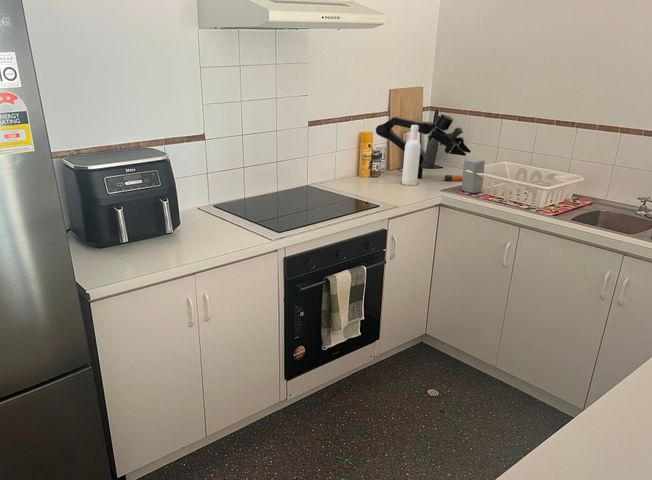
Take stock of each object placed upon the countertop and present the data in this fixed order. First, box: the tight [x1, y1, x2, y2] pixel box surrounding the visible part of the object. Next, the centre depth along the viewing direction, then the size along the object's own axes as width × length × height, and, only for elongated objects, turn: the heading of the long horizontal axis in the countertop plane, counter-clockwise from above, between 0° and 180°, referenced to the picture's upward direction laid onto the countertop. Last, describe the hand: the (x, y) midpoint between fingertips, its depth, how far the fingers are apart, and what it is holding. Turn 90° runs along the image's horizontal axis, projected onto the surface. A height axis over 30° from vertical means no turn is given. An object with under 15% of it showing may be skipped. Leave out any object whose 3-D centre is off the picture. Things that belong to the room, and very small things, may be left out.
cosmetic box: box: [461, 157, 486, 194], centre depth 274 cm, size 8×7×16 cm
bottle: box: [401, 125, 422, 186], centre depth 285 cm, size 8×8×30 cm
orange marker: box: [443, 174, 463, 182], centre depth 297 cm, size 14×3×3 cm, turn 90°
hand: (468, 153), depth 286 cm, fingers open, 9 cm apart
